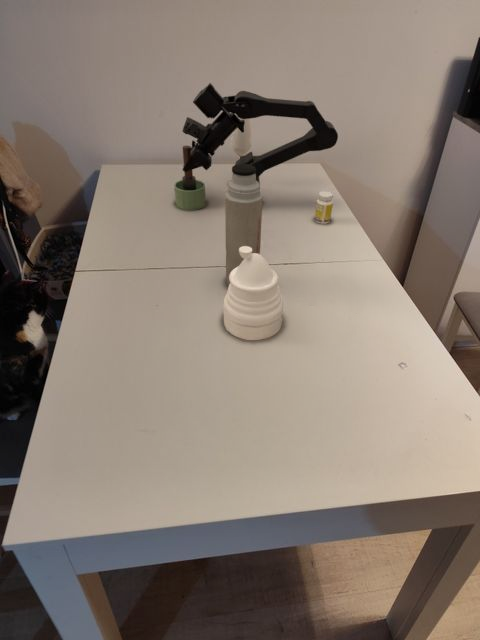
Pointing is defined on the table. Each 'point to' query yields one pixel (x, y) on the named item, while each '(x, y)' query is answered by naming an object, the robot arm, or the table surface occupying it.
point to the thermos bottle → (242, 215)
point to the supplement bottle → (324, 207)
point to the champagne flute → (241, 139)
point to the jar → (190, 196)
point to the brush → (188, 172)
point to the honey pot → (253, 299)
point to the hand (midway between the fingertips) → (183, 169)
